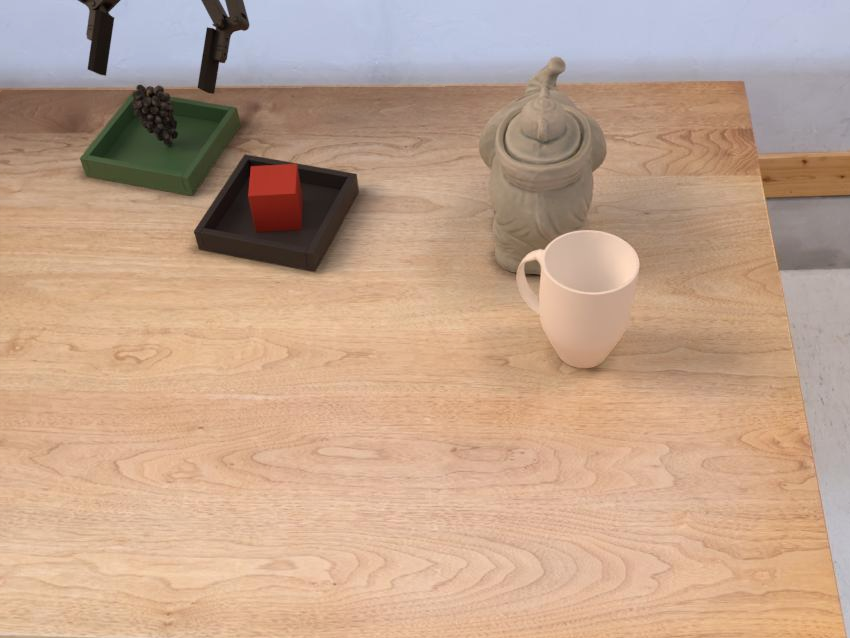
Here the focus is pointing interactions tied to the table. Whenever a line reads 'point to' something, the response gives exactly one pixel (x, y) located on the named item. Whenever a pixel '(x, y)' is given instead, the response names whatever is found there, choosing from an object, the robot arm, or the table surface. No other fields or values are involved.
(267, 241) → the black tray
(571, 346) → the mug
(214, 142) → the green tray
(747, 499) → the table surface
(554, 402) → the table surface
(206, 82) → the robot arm
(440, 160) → the table surface
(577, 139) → the lidded stone jar
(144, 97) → the fruit
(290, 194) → the red block
